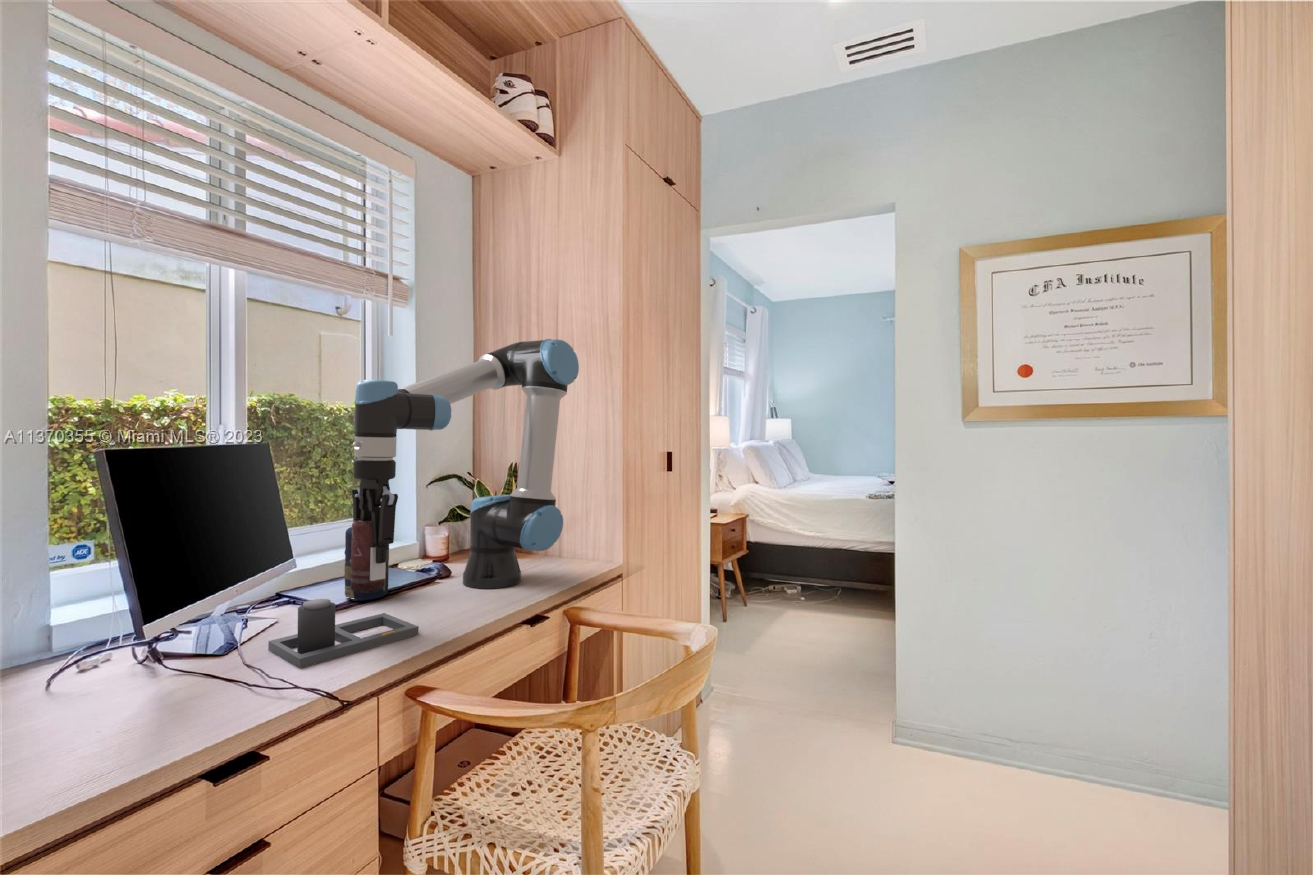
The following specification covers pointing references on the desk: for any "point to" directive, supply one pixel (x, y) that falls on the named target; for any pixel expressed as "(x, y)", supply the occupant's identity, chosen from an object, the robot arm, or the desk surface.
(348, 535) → the canister
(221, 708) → the desk surface
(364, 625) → the desk organizer tray
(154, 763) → the desk surface
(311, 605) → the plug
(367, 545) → the can
